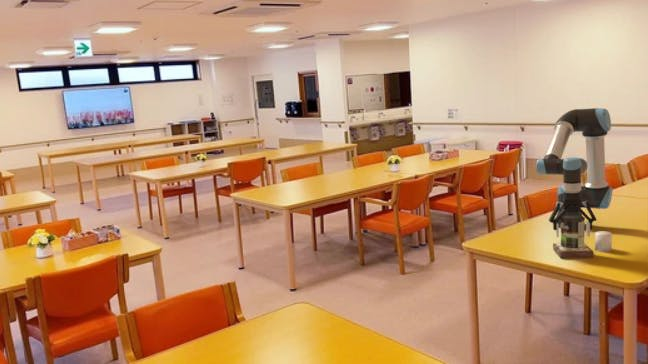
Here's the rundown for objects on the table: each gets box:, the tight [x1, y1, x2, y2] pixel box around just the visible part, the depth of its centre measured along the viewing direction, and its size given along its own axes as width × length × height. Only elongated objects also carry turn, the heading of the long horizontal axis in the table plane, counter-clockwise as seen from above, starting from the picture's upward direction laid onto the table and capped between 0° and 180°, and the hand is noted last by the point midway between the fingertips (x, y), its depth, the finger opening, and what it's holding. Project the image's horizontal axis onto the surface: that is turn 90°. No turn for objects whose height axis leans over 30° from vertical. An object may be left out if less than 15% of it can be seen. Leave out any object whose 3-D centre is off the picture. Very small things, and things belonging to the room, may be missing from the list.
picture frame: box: [552, 242, 594, 260], centre depth 256 cm, size 14×14×3 cm
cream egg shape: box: [594, 230, 613, 253], centre depth 258 cm, size 7×7×8 cm
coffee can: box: [560, 215, 586, 250], centre depth 255 cm, size 10×10×14 cm
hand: (572, 236), depth 255 cm, fingers open, 13 cm apart
